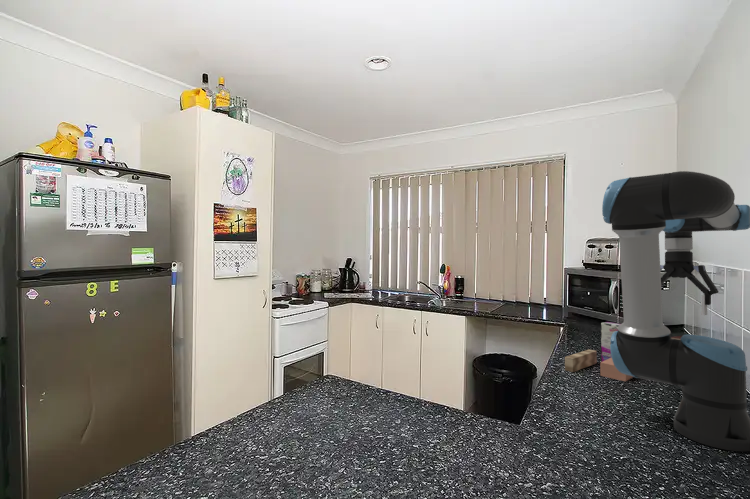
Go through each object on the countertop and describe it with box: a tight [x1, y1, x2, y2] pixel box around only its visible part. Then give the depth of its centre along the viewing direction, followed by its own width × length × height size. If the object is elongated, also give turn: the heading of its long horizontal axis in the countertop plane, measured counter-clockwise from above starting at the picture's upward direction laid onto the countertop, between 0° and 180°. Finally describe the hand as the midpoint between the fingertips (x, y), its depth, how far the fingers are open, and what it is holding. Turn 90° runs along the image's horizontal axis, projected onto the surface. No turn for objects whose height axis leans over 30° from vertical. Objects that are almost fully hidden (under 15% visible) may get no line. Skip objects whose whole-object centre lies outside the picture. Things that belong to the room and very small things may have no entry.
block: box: [599, 358, 634, 382], centre depth 136 cm, size 10×8×5 cm
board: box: [564, 349, 598, 373], centre depth 146 cm, size 19×3×5 cm, turn 126°
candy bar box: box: [600, 321, 621, 362], centre depth 147 cm, size 11×5×16 cm, turn 25°
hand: (679, 312), depth 129 cm, fingers open, 13 cm apart
